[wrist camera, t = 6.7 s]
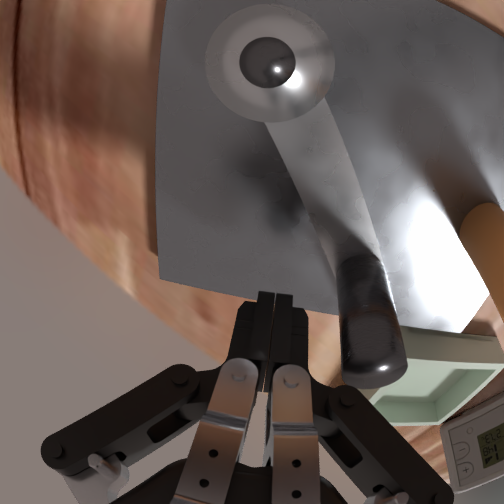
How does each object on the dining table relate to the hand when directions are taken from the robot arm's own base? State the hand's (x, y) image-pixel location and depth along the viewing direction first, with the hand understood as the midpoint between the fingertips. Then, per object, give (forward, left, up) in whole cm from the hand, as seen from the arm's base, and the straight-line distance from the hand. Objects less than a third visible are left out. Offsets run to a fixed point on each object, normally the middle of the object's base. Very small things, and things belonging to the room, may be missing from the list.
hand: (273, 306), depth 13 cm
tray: (+10, +15, -5) cm, 19 cm away
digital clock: (+17, +32, -6) cm, 37 cm away
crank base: (-6, +4, -5) cm, 8 cm away
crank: (-5, +2, -3) cm, 6 cm away
